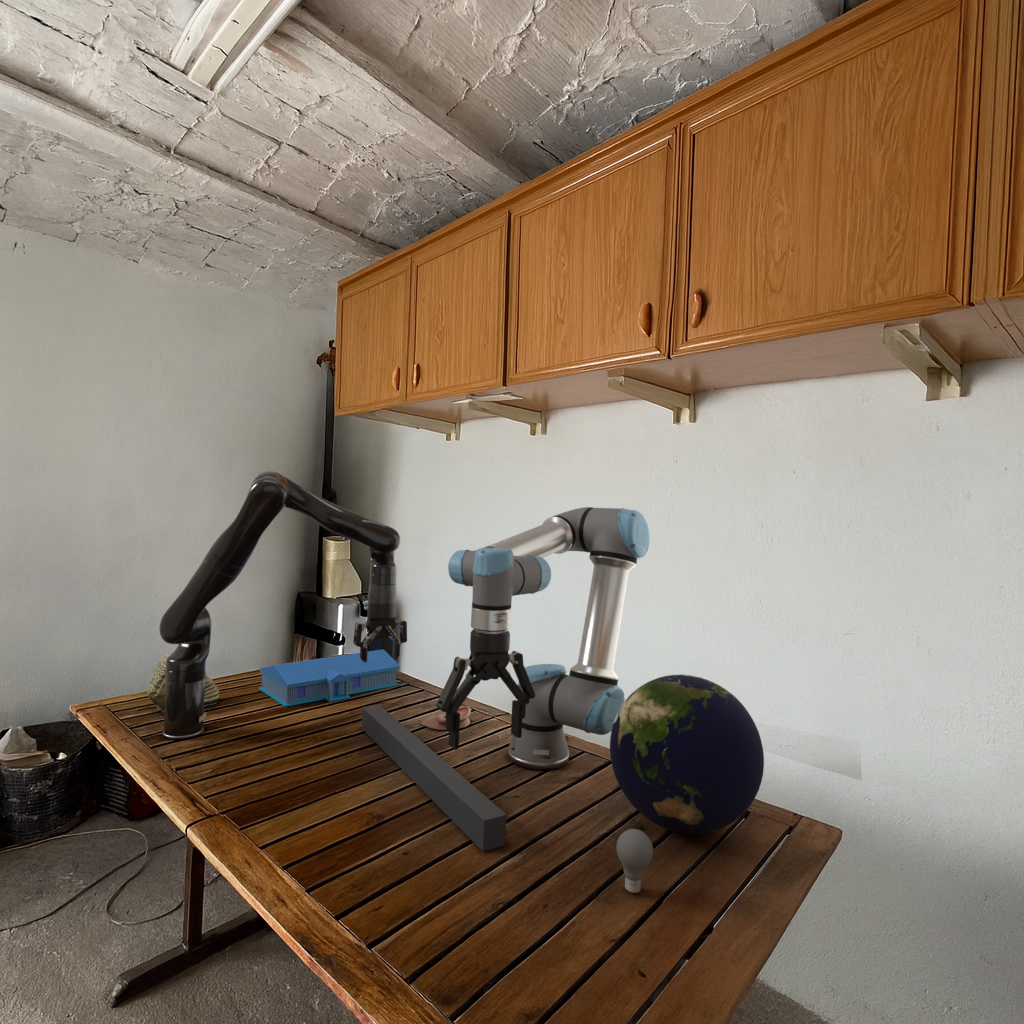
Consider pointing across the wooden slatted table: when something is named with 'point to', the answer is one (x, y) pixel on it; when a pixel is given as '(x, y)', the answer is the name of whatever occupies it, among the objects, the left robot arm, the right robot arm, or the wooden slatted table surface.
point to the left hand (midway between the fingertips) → (379, 660)
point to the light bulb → (634, 857)
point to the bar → (437, 779)
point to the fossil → (158, 687)
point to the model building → (328, 677)
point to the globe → (686, 754)
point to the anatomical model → (440, 719)
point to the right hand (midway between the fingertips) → (485, 741)
